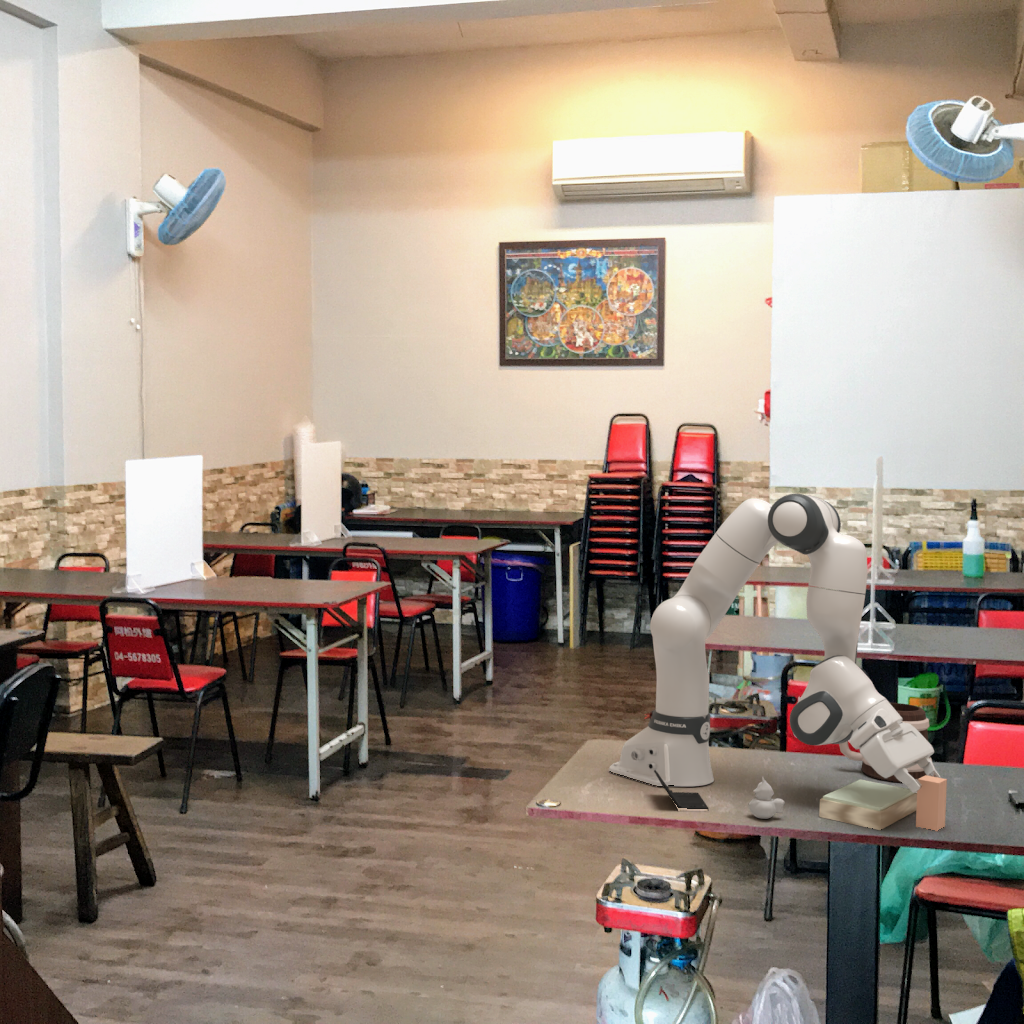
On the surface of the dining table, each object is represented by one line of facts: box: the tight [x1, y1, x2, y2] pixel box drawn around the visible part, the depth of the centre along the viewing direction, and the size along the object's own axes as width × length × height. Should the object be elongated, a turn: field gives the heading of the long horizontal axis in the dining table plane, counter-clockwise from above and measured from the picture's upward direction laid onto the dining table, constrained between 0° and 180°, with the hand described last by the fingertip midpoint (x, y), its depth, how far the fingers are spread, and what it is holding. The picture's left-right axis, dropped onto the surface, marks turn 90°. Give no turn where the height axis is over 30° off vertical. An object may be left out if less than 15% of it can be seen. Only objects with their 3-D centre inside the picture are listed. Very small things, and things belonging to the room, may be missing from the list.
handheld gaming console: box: [654, 770, 709, 810], centre depth 234 cm, size 12×7×10 cm
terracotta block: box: [915, 775, 948, 832], centre depth 223 cm, size 4×4×9 cm
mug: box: [838, 702, 933, 783], centre depth 261 cm, size 20×15×15 cm
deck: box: [818, 778, 917, 831], centre depth 231 cm, size 12×18×4 cm, turn 140°
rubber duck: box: [748, 775, 786, 820], centre depth 226 cm, size 5×7×8 cm
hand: (927, 785), depth 224 cm, fingers open, 8 cm apart
